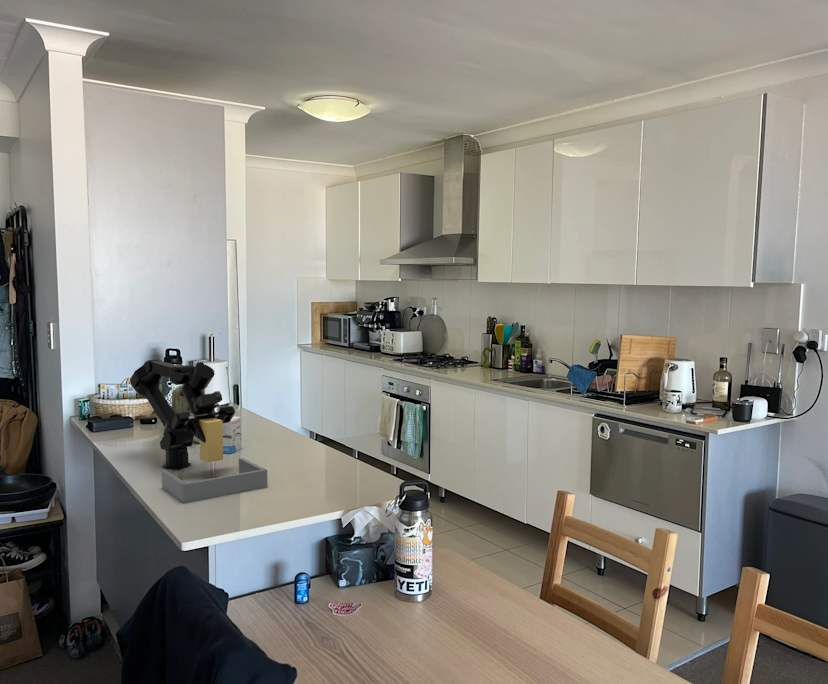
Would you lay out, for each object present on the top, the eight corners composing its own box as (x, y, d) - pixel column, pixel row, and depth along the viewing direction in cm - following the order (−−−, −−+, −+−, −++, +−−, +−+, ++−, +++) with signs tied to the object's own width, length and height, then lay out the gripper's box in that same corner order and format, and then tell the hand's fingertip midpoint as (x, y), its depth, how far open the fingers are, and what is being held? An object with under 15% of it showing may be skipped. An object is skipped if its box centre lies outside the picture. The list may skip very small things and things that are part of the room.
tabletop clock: (194, 433, 273) (192, 370, 271) (171, 433, 273) (169, 370, 271) (205, 425, 287) (204, 365, 285) (184, 425, 288) (182, 365, 285)
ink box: (231, 454, 241) (230, 420, 240) (218, 453, 242) (217, 420, 241) (242, 448, 249) (241, 416, 248) (229, 447, 250) (228, 415, 249)
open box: (162, 491, 198) (161, 470, 198) (242, 476, 213) (242, 457, 212) (183, 506, 185) (182, 484, 184) (267, 490, 199) (267, 469, 199)
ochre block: (199, 459, 209) (199, 420, 208) (215, 456, 212) (214, 417, 211) (207, 462, 205) (206, 422, 204) (223, 459, 209) (222, 420, 208)
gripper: (174, 386, 203) (191, 429, 196) (232, 380, 216) (250, 420, 209) (163, 408, 210) (180, 451, 203) (220, 401, 222) (238, 441, 215)
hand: (213, 440), depth 207 cm, fingers closed on ochre block, 5 cm apart
